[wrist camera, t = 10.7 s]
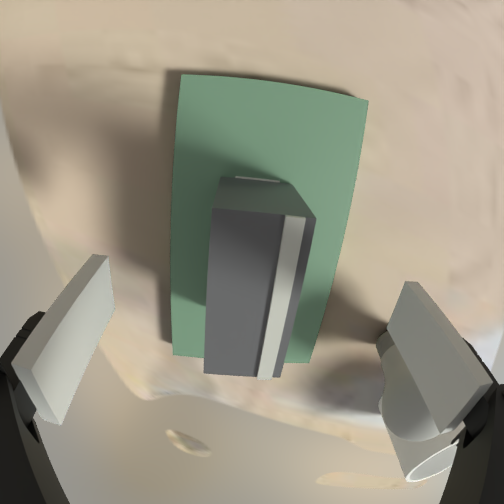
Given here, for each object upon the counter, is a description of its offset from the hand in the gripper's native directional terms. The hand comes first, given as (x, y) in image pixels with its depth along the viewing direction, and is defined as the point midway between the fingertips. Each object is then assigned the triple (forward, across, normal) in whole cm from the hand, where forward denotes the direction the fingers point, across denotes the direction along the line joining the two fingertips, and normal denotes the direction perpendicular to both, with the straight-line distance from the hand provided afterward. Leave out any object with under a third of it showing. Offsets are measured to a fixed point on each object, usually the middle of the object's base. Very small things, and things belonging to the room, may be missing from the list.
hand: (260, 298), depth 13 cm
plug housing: (+7, 0, -1) cm, 7 cm away
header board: (+8, 0, -1) cm, 8 cm away
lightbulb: (+8, +13, -9) cm, 18 cm away
